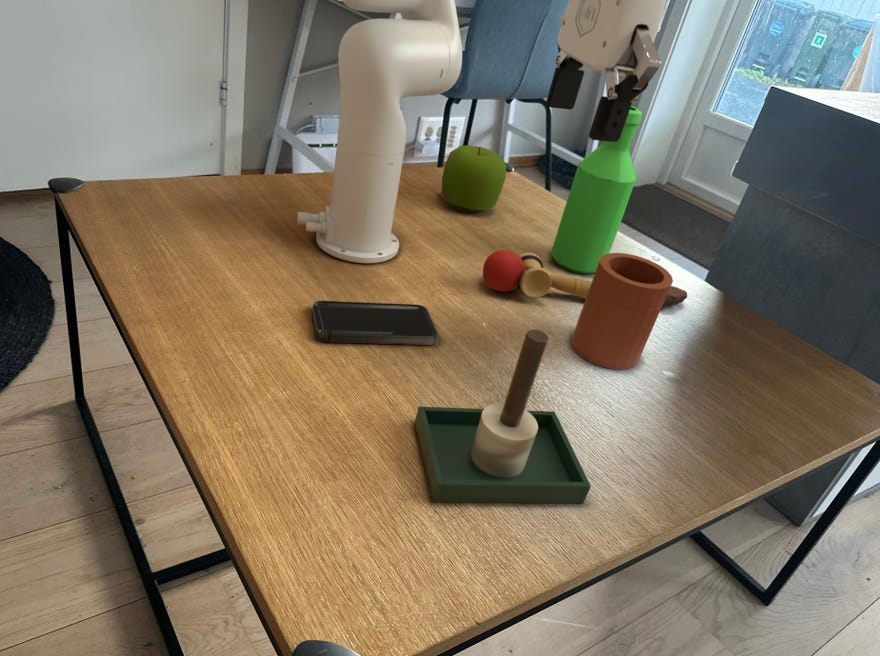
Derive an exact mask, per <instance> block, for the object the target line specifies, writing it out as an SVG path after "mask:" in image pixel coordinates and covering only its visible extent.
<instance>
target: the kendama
mask: <svg viewBox="0 0 880 656" xmlns="http://www.w3.org/2000/svg"><path fill="white" fill-rule="evenodd" d="M482 278H483V282H484V283H485V284H486V285H487V286H488V287H489V288H490V289H491V290H493V291H497V292H510V291H513V290H518V289H520V290H521V292H522V293H523V294H524V295H525V296H527V297H529V298H532V299H539V298H541V297H543V296H545V295H547V294H548V293H549V291H550V290H551V288H553V289H555V290H557V291H560V292H564V293H567V294H569V295H574V296H576V297H579V298H582V299H585V300H586V297H587V294H588V291H589V289H590V286H591V283H592V280H588V279H584V278H578V277H573V276H567V275H561V274H552V273H549V271H547V270H546V269H545V264H544V262H543V260H542V258H540V257H539V255H537V254H536V253H534V252H523V253H521V254H518V253H516V252H515V251H513V250H510V249H497V250H496V251H493V252H492V253H490V254H489V255H488V256H487V258H486V259H485V261H484V264H483V266H482ZM518 286H519V287H518Z"/></svg>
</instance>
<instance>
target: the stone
mask: <svg viewBox="0 0 880 656" xmlns="http://www.w3.org/2000/svg"><path fill="white" fill-rule="evenodd" d="M686 299H688V292H687V291H686V290H685V289H682V288H679V286H678V287H677V286H673V285H671V287H670V289H669V292H668V294H667V296H666V299H665V301H664V303H663V306H662V308H661V309H669V308H672V307H674V306H676V305H679V304H680V305H681V304H682V303H683V302H684V301H685V300H686Z"/></svg>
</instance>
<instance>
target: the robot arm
mask: <svg viewBox="0 0 880 656" xmlns="http://www.w3.org/2000/svg"><path fill="white" fill-rule="evenodd" d="M341 2H342V3H343V4H344V5H345V6H346V7H348V8H349V9H352V10H354V11H359V12H367V13H384V14H385V13H387V14H400V16H401V18H370V19H366V20H362V21H359V22H357V23H355V24H353V25H351V26H350V27H349V28H348V29H347V30H346V32H345V33H344V34H343V36H342V38H341V40H340V44H339V48H338V56H337V57H338V58H337V59H338V74H339V90H340V94H339V95H340V97H339V98H340V100H339V101H340V102H339V118H338V129H337V138H336V140H337V141H336V150H335V158H334V167H333V178H332V186H331V195H330V204H329V206H328V205H327V206H326V207H325V212H324V211H319V212H318V213H310V212H307V211H306V212H304V211H297V217H296V225H297V226H305V232H312V233H314V232H316V236H315V240H316V241H315V242H316V244H317V246H318V247H319V248H320V249H321V250H322V251H323V252H325V253H326V254H328V255H330V256H332V257H334V258H337V259H339V260H342V261H347V262H352V263H356V264H357V263H358V264H379V263H383V262H387V261H389V260H391V259H393V258H395V257H397V256H396V255H398V253H399V249H400V240H399V238H397V236H396V235H395V234H394V233H392V229H393V223H394V218H395V217H394V216H395V212H396V211H395V210H396V205H397V199H398V193H399V186H400V180H401V174H402V170H403V169H402V168H403V164H404V157H405V156H404V155H405V151H406V145H407V134H408V133H407V123H406V120H405V116H404V114H403V111H402V108H401V104H400V99H403V98H404V99H405V98H409V97H426V96H427V97H428V96H434V95H435V96H436V95H441V94H443V93H445V92H448V91H449V90H450V89H451V88H453V87H454V85H455V84H456V83H457V81H458V79H459V77H460V74H461V70H462V65H463V46H462V44H463V43H462V38H461V32H460V24H459V19H458V13H457V7H456V1H455V0H341ZM666 4H667V0H568V3H567V5H566V9H565V11H564V14H563V15H562V17H561V18H560V25H559V27H560V28H559V33H558V36H557V50H558V54H557V55H556V57H555V60H554V66H555V69H554V72H553V76H552V79H551V83H550V87H549V89H548V90H549V91H548V93H547V97H546V101H545V105H546V106H547V107H549V108H550V109H551V108H552V109H563V110H572V109H574V107H575V105H576V101H577V98H578V95H579V92H580V89H581V85H582V82H583V79H584V75H585V73H586V71H584V70H583V69H582V68H583V67H584V66H586V67H588V68H590V69H591V70H593V71H596V72H597V71H598V72H602V71H604V73H605V74H604V76H605V91H606V92H605V93H606V96H603V95H602V96H600V99H599V101H598V105H597V108H596V111H595V114H594V117H593V119H592V123H591V126H590V128H589V133H588V137H589V139H591V140H592V141H598V142H604V141H610V142H617V141H618V140H619V139H620V136H621V133H622V130H623V127H624V125H625V122H626V119H627V116H628V113H629V110H630V108H631V106H632V104H633V103H635V102H637V101H638V99H639V98H640V97H639V96H640V95H641V93H643V92H644V91H646V89H647V88H648V86H649V83H650V81H651V80H652V79H653V77H654V76H655V75H656V73H657V72H658V71H659V69H660V67H661V65H662V61H661V57H660V56H659V53H658V51H657V48H656V46H655V40H656V37H657V35H658V31H659V28H660V24H661V21H662V19H663V14H664V10H665V8H666ZM619 77H625V78H623V80H621V81H620V82H619Z"/></svg>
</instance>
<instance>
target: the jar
mask: <svg viewBox="0 0 880 656" xmlns="http://www.w3.org/2000/svg"><path fill="white" fill-rule="evenodd" d="M591 281H592V283H591V286H590V289H589V291H588V294H587V297H586V299H585V300H584V303H583V305H582V308H581V311H580V314H579V317H578V319H577V322H576V324H575V328H574V330H573V334H572V337H571V345H572V347H573V349H574V351H575V352H576V353H577V354H578V355H579V356H581V357H582V358H583V359H585V360H586V361H588V362H590V363H592V364H593V365H594V364H595V365H597V366H600V367H603V368H606V369H612V370H628V369H632V368H634V367H635V366H637V365H638V363H639V361H640V358H641V356H642V354H643V352H644V349H645V347H646V345H647V342H648V340H649V338H650V336H651V333H652V331H653V330H654V329H653V328H654V326H655V324H656V322H657V319H658V317H659V315H660V313H661V310H662V309H663V308H662V306H663V303H664V301H665V299H666V296H667V294H668V292H669V289H670V287H671V286H673V283H674V279H673V275H672V274H671V273H670V272H669V270H667V269H666V268H665V267H663V266H661V265H660V264H658V263H656V262H654V261H652V260H650V259H647V258H644V257H641V256H639V255H635V254H630V253H623V252H610V253H609V254H606V255H604V256H602V257H601V259H600V261H599V264H598V266H597V269H596V272H594V275H593V278H592V280H591Z"/></svg>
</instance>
